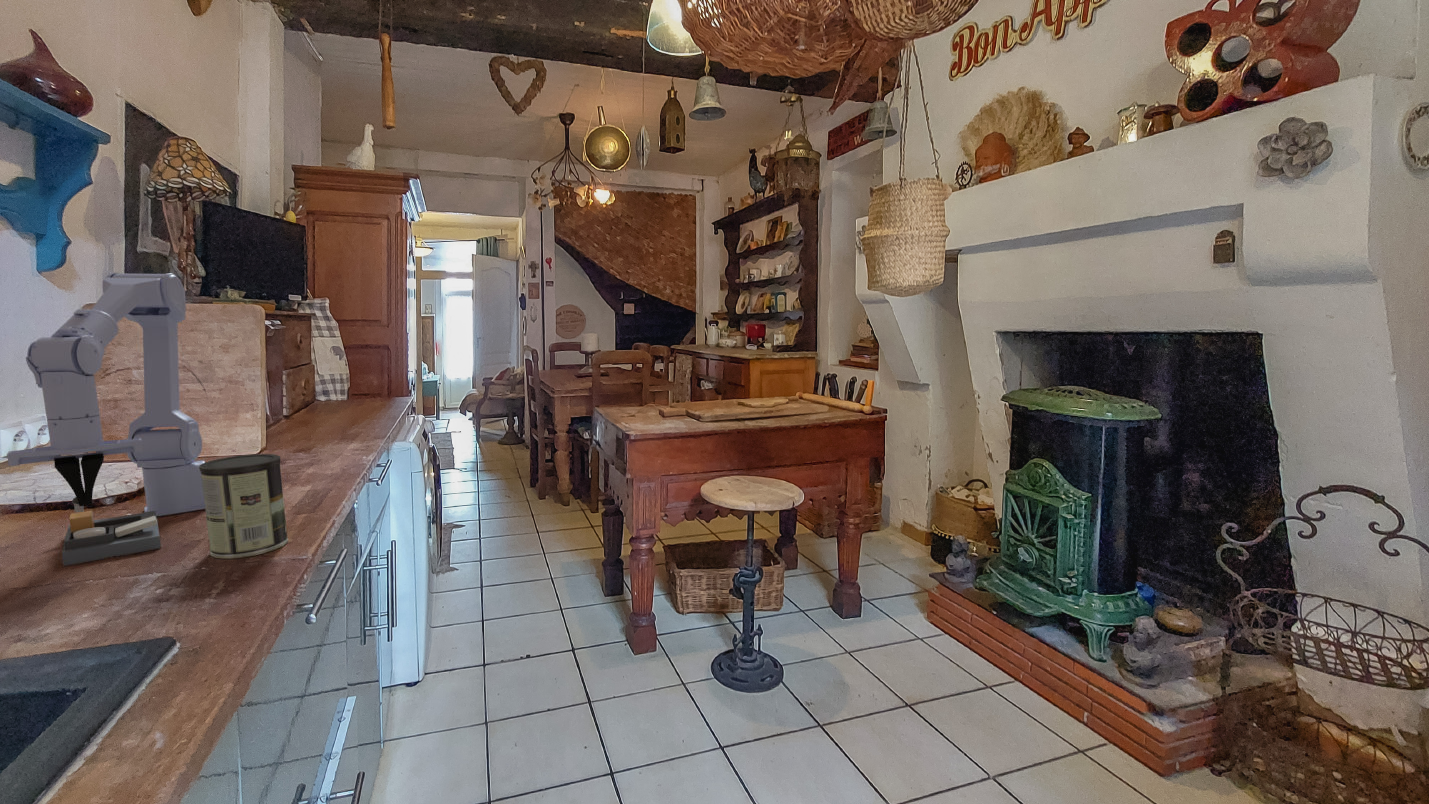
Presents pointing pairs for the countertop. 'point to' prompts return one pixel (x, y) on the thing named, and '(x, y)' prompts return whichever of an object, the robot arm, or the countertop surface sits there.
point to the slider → (81, 521)
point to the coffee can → (244, 505)
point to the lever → (77, 506)
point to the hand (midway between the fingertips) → (86, 504)
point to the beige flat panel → (136, 526)
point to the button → (89, 532)
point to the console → (111, 540)
